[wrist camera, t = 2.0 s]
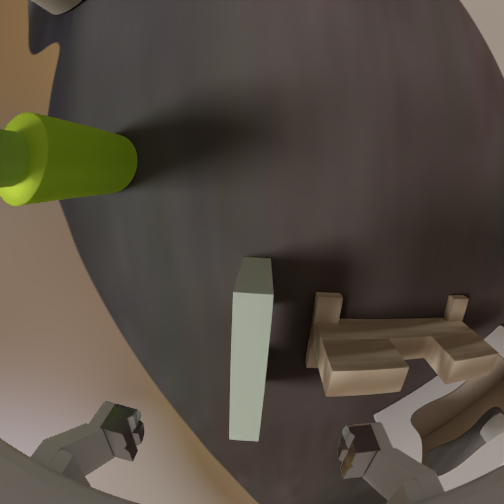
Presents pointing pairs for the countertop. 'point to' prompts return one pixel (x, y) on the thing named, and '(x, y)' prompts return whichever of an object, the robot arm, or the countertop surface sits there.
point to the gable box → (450, 418)
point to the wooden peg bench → (392, 348)
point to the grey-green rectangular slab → (250, 346)
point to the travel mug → (57, 5)
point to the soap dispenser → (61, 160)
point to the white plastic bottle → (493, 427)
